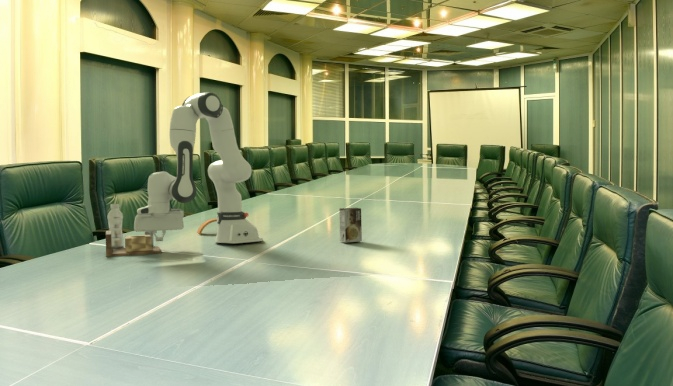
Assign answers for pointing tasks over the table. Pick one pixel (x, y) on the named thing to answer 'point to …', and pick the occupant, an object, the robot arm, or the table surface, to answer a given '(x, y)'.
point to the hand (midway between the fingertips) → (159, 241)
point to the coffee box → (350, 225)
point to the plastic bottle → (115, 226)
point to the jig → (122, 251)
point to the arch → (205, 225)
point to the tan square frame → (138, 243)
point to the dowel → (150, 235)
